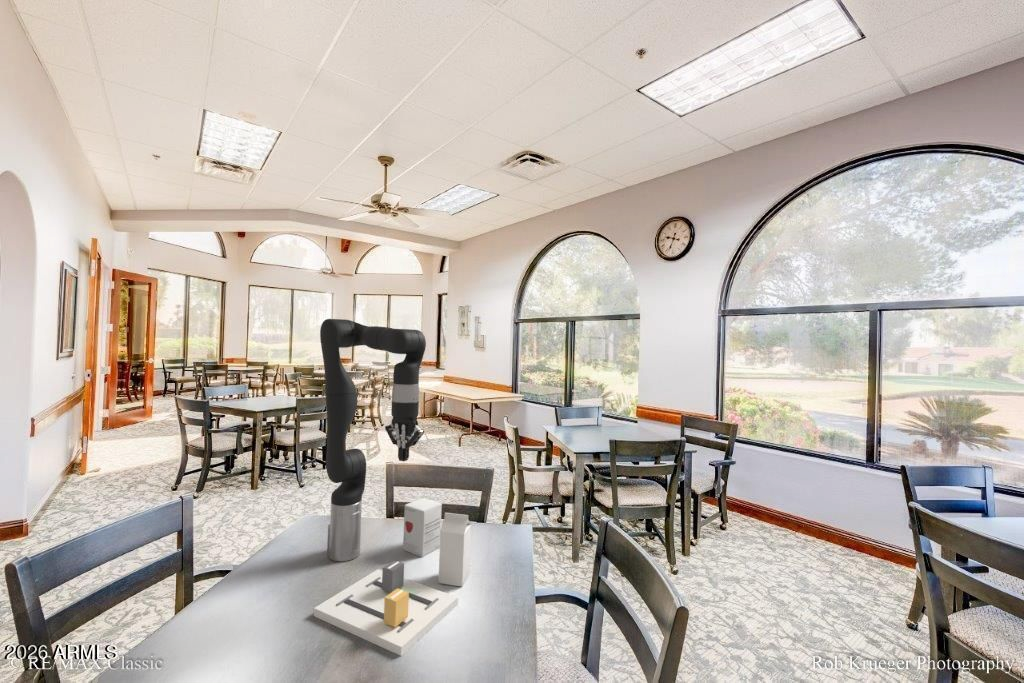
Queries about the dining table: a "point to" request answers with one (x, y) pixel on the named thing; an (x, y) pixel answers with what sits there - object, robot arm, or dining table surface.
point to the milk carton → (454, 549)
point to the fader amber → (396, 607)
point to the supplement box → (422, 526)
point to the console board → (365, 612)
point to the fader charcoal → (392, 576)
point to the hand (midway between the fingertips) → (403, 460)
